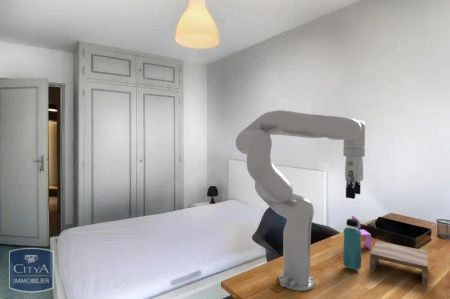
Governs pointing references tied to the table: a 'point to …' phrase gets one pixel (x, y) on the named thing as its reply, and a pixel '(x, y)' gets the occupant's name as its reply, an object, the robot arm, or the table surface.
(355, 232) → the beverage bottle
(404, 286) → the table surface
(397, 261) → the walnut shelf
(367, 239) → the toy chair
